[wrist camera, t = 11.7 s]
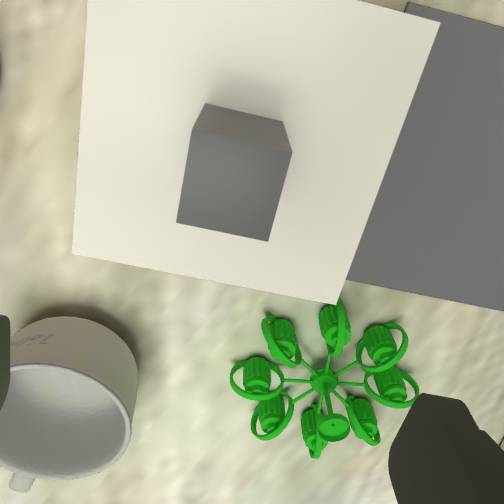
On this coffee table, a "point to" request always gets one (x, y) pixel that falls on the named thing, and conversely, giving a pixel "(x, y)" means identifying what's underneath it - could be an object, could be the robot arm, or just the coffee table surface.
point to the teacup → (66, 401)
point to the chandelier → (325, 381)
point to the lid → (241, 135)
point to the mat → (445, 175)
